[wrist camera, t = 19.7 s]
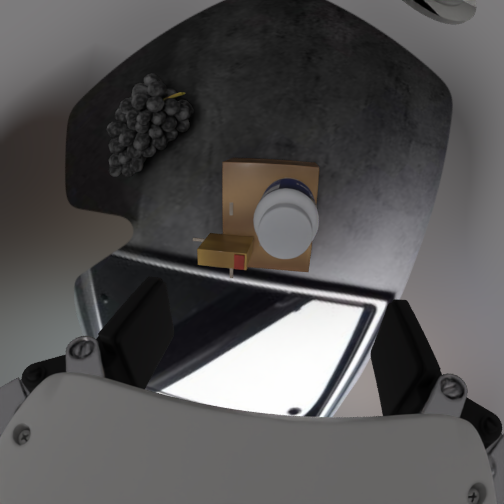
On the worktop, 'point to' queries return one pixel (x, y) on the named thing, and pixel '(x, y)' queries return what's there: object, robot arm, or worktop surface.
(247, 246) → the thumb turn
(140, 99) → the fruit
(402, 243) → the worktop surface
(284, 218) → the pill bottle
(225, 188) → the brown flat block
